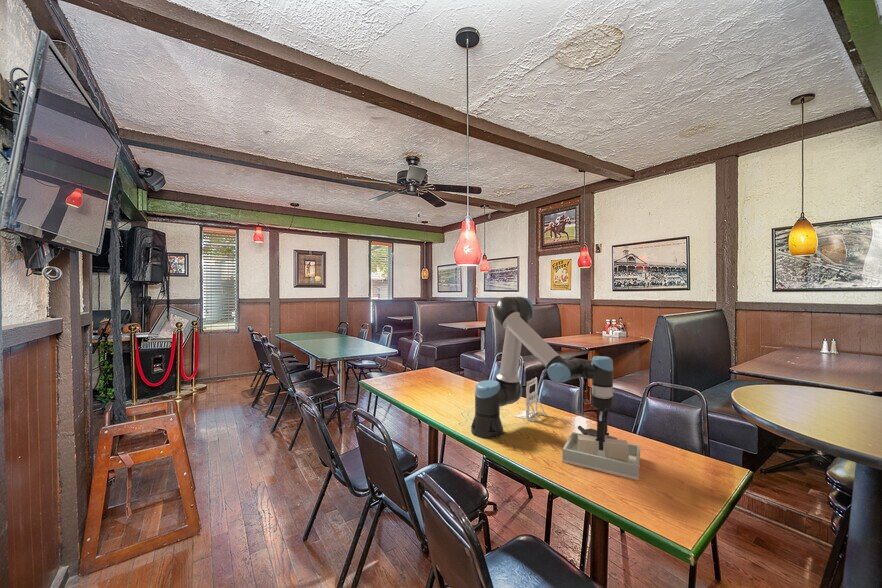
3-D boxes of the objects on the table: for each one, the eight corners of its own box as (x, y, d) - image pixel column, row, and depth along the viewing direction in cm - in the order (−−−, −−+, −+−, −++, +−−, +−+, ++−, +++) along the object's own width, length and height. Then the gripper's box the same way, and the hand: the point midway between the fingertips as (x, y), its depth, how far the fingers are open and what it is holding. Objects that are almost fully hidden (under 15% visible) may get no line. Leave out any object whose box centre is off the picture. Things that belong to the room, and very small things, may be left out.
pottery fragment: (619, 442, 158) (620, 432, 158) (604, 447, 151) (604, 437, 151) (590, 431, 170) (590, 422, 170) (574, 435, 164) (574, 426, 164)
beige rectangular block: (578, 454, 140) (578, 439, 140) (577, 449, 145) (577, 434, 145) (628, 461, 135) (628, 445, 135) (626, 455, 139) (626, 440, 139)
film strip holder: (523, 410, 200) (523, 374, 200) (547, 415, 191) (548, 378, 192) (512, 417, 188) (513, 379, 188) (538, 422, 180) (538, 383, 180)
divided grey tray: (562, 461, 138) (562, 448, 138) (572, 443, 155) (572, 432, 155) (638, 480, 124) (638, 466, 124) (640, 458, 142) (640, 445, 142)
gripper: (610, 403, 130) (610, 466, 129) (615, 391, 146) (614, 447, 146) (588, 400, 133) (588, 461, 133) (595, 389, 150) (595, 443, 150)
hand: (602, 454), depth 140 cm, fingers closed on beige rectangular block, 6 cm apart
